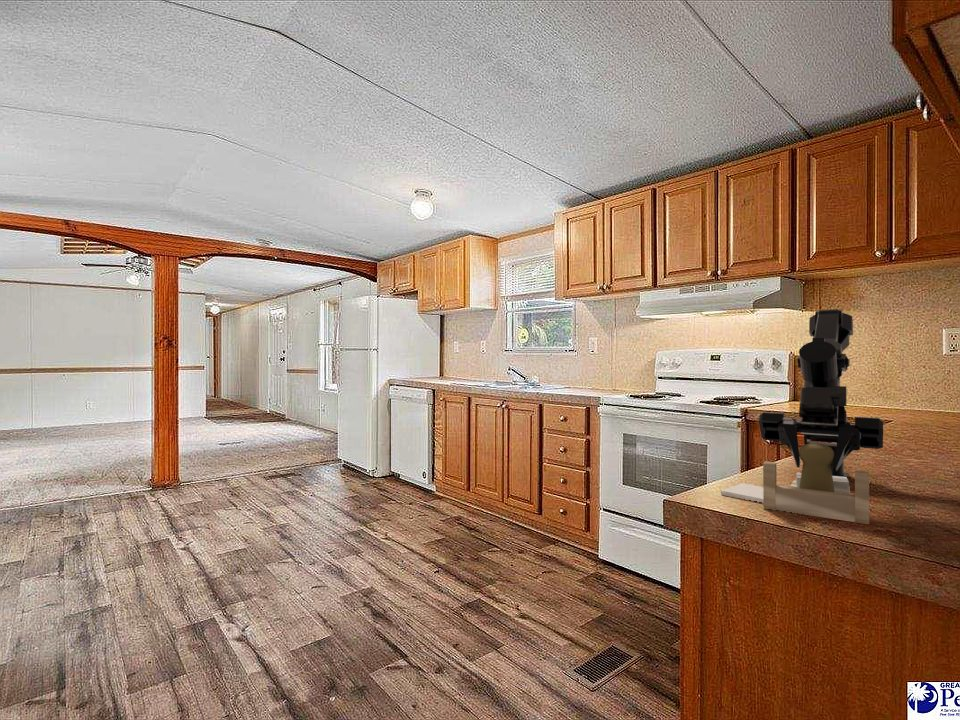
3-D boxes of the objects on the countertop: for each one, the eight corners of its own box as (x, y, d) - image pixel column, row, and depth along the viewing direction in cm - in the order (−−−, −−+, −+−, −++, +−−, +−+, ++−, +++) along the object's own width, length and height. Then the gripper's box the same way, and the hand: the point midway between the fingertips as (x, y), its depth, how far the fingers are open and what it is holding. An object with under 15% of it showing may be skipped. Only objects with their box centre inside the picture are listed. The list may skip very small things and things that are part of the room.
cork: (800, 510, 90) (800, 446, 90) (793, 500, 96) (793, 440, 96) (841, 513, 88) (841, 448, 88) (832, 503, 94) (832, 442, 94)
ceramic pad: (741, 487, 106) (741, 483, 106) (787, 495, 99) (787, 491, 99) (720, 494, 101) (720, 490, 101) (767, 504, 94) (767, 499, 94)
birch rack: (765, 506, 93) (764, 461, 93) (869, 521, 84) (868, 471, 84) (763, 508, 91) (763, 463, 91) (869, 524, 82) (869, 473, 82)
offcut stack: (793, 490, 103) (793, 471, 103) (849, 497, 97) (849, 477, 97) (790, 496, 98) (790, 476, 98) (848, 504, 93) (848, 483, 93)
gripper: (760, 370, 100) (750, 435, 92) (882, 370, 89) (884, 445, 81) (766, 407, 107) (757, 471, 98) (881, 412, 96) (883, 485, 87)
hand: (816, 468), depth 91 cm, fingers closed on cork, 5 cm apart
